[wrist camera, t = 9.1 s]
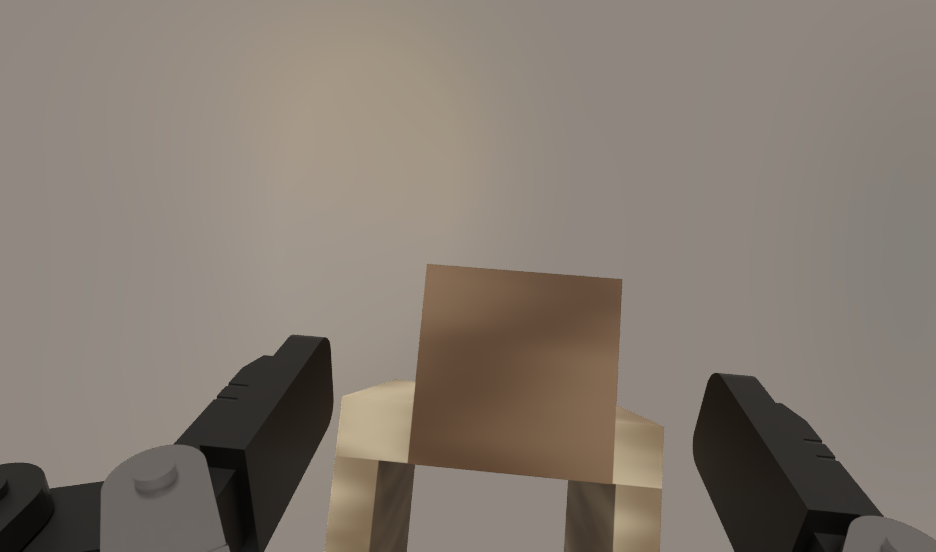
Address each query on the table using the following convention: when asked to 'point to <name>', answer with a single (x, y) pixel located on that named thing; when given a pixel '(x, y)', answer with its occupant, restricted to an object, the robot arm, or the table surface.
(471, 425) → the walnut block
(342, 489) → the birch bridge
